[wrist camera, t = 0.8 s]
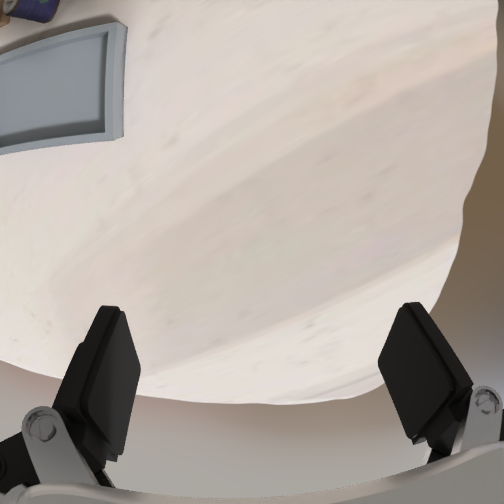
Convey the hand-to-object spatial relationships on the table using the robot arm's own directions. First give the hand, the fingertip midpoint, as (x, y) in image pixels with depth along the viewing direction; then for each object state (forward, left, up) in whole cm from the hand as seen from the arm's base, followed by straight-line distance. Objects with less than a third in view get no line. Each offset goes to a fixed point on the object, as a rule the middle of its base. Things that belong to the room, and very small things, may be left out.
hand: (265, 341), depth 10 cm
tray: (-10, -25, -29) cm, 40 cm away
